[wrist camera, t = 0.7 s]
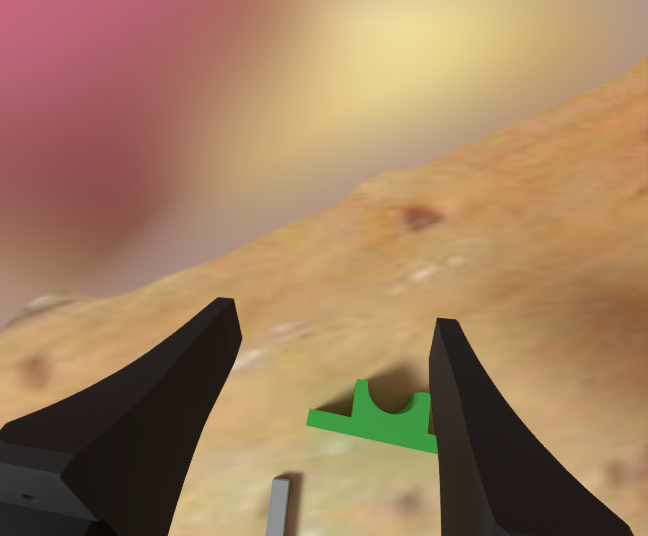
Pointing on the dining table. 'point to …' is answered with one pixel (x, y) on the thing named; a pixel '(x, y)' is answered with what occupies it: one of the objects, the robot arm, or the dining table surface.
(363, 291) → the dining table surface
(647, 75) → the dining table surface
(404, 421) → the pipe clamp
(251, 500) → the dining table surface
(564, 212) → the dining table surface
